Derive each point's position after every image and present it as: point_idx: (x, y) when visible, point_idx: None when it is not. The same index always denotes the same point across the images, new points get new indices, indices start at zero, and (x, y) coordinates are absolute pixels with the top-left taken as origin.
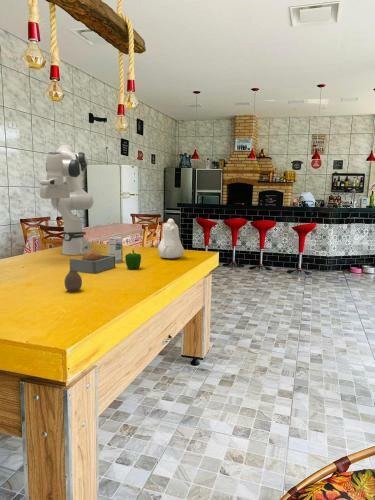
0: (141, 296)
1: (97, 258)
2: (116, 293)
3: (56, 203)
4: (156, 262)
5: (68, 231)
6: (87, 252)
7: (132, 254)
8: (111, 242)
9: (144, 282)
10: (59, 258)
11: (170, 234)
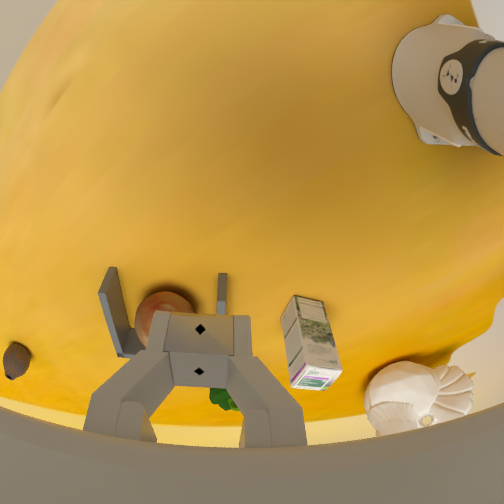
0: (75, 410)
1: None
2: (60, 391)
3: (233, 365)
4: None
5: (475, 94)
6: (144, 340)
7: (228, 401)
8: (296, 362)
9: None
10: (296, 80)
11: None
